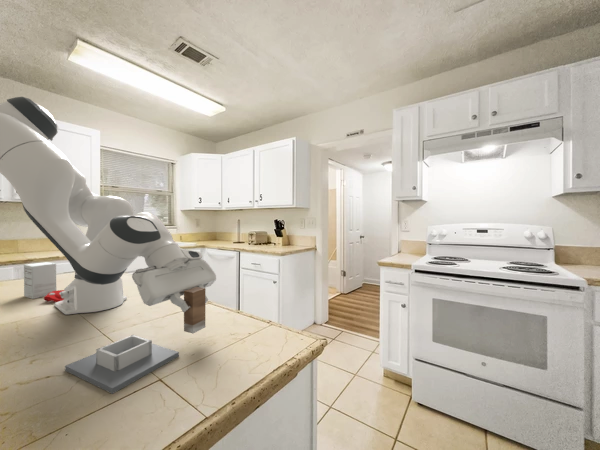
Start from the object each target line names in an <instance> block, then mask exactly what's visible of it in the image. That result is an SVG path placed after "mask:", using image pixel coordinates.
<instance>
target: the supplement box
mask: <svg viewBox="0 0 600 450" xmlns="http://www.w3.org/2000/svg"><path fill="white" fill-rule="evenodd" d="M23 286H24V287H23V296H24V297H26V298H29V299H32V300H33V299H38V298H42V297H43V298H44V297H45V296H46V295H47V294H48V293H50V292H52V291H57V263H56V262H55V263H54V262H49V261H45V262H37V263H29V264H23Z"/></svg>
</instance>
